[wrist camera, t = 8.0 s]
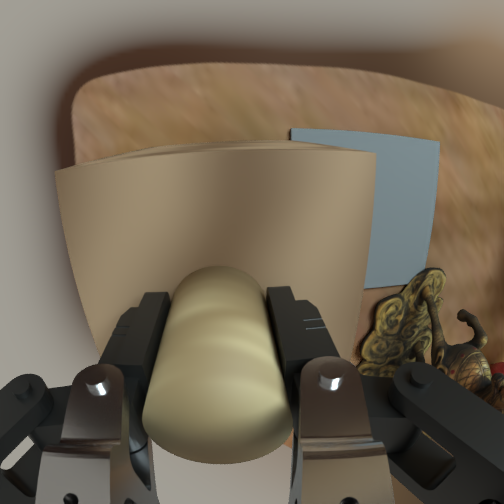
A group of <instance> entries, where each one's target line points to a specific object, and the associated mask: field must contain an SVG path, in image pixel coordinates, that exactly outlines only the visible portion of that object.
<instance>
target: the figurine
mask: <svg viewBox="0 0 504 504" xmlns="http://www.w3.org/2000/svg"><path fill="white" fill-rule="evenodd" d="M445 281H446V275H445V273H444V271H443V270H442V269H440V268H427V269H424V270H422V271H421V272H420V273H418V274H417V275H416V276H415V277H414V278H413V279H412V280H411V281H410V282H409V284H408V285H407V286H406V288H405V289H404V290H403V292H402V293H400V294H394V295H391V296H388V297H386V298H384V299H382V300H381V301H379V303H378V304H377V306H376V309H375V313H374V324H373V329H372V331H371V332H370V333H369V334H368V335H367V336H366V337H365V339H364V340H363V342H362V344H361V347H360V355H361V356H362V357H363V358H364V359H363V361H362V362H361V363H360V364H359V365H358V366H357V367H356V368H357V369H358V371H359V373H360V374H362V375H367V376H376V377H393V376H394V374H395V372H396V370H397V369H398V368H399V367H400V366H401V365H403V364H406V363H409V362H423V363H425V359H424V354H425V352H426V351H427V349H428V348H429V346H430V345H431V342H432V348H431V359H432V361H431V363H432V366H434V367H435V368H437V369H438V370H440V371H441V372H443V373H444V374H446V375H447V376H449V377H450V378H452V379H453V380H454V381H456V382H457V383H459V384H460V385H462V386H463V387H465V388H466V389H468V390H469V391H471V392H472V393H473V394H475V395H476V396H478V397H479V398H481V399H482V400H484V401H485V402H487V403H488V404H489V405H491V406H492V407H494V408H495V409H497V410H498V411H500V412H501V413H502V414H504V375H503V373H495V374H493V375H492V376H491V371H490V367H489V364H488V362H487V360H486V358H485V357H484V355H483V353H482V352H481V351H480V349H481V348H482V347H483V346H484V345H485V344H486V343H487V339H488V337H487V335H486V333H485V331H484V330H483V328H482V327H481V325H480V323H479V321H478V319H477V317H476V316H474V315H472V314H470V313H469V312H467V311H466V310H464V309H462V310H460V311H459V312H458V314H457V319H458V320H460V321H462V322H467V325H468V326H470V327H472V328H473V330H474V334H475V335H474V338H473V339H472V340H470V341H469V342H466V343H463V344H456V345H453V346H450V345H448V344H447V343H446V342H445V339H444V336H443V331H442V328H441V325H440V322H439V318H438V312H439V311H440V309H441V307H442V304H443V299H442V298H440V297H438V295H439V294H440V293H441V291H442V290H443V288H444V285H445ZM430 322H431V325H432V330H431V329H430V328H428V324H429V323H430ZM422 433H423V434H425V435H426V436H427V437H428V438H430V439H431V440H432V438H431V437H430V436H429V435H427V434H426V433H425V432H424V431H422Z"/></svg>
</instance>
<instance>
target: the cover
mask: <svg viewBox="0 0 504 504" xmlns="http://www.w3.org/2000/svg"><path fill="white" fill-rule="evenodd" d="M375 176H376V153H372V152H367V151H362V150H356V149H350V148H344V147H338V146H331V145H324V144H317V143H310V142H302V141H293V140H254V141H225V142H207V143H192V144H180V145H169V146H159V147H151V148H146V149H141V150H136V151H131V152H127V153H122V154H118V155H114V156H110V157H106V158H101V159H98V160H94V161H90V162H86V163H82V164H79V165H75V166H72V167H68V168H65V169H62V170H58V171H55V179H56V187H57V193H58V201H59V206H60V213H61V219H62V224H63V229H64V234H65V239H66V243H67V249H68V253H69V257H70V262H71V265H72V269H73V274H74V277H75V281H76V285H77V288H78V292H79V295H80V299H81V302H82V305H83V309H84V312H85V315H86V318H87V321H88V324H89V327H90V330H91V333H92V336H93V339H94V341H95V344H96V347H97V350H98V352H99V355H100V358H101V356H102V353H103V351H104V349H105V347H106V345H107V343H108V341H109V339H110V337H111V336H112V332H113V330H114V328H116V324H117V322H118V320H119V318H120V316H121V315H122V314H123V313H125V312H126V311H127V310H128V309H129V308H130V307H138V306H139V304H140V302H141V300H142V298H143V295H144V293H145V292H168V293H169V296H170V302H171V306H170V310H169V313H168V316H167V320H166V324H165V327H164V331H163V334H162V338H161V342H160V345H159V349H158V353H157V357H156V361H155V364H154V368H153V372H152V376H151V380H150V384H149V388H148V393H147V397H146V401H145V405H144V410H143V414H142V422H143V426H144V429H145V431H146V433H147V434H148V436H149V437H150V438H151V439H152V440H153V441H154V442H155V443H156V444H157V445H159V446H160V447H161V448H163V449H164V450H166V451H168V452H170V453H172V454H174V455H176V456H179V457H181V458H184V459H187V460H191V461H195V462H201V463H208V464H233V463H241V462H246V461H250V460H254V459H257V458H260V457H263V456H265V455H267V454H269V453H271V452H273V451H274V450H276V449H277V448H279V447H280V446H281V445H282V444H283V443H284V442H285V441H286V440H287V439H288V437H289V436H290V434H291V431H292V428H293V419H292V414H291V410H290V405H289V401H288V396H287V392H286V387H285V383H284V378H283V374H282V369H281V365H280V360H279V356H278V351H277V347H276V343H275V338H274V334H273V329H272V325H271V320H270V316H269V311H268V307H267V302H266V289H267V287H277V286H290V287H291V290H292V293H293V295H294V298H295V300H308V301H309V302H311V303H312V304H313V305H314V306H316V307H317V308H318V310H319V313H320V315H321V317H322V319H323V321H324V323H325V325H326V328H327V329H328V332H329V334H330V336H331V338H332V340H333V342H334V344H335V346H336V349H337V351H338V353H339V355H340V357H341V358H343V359H345V360H347V361H349V362H350V359H351V354H352V350H353V345H354V340H355V335H356V330H357V325H358V320H359V314H360V308H361V303H362V297H363V290H364V284H365V277H366V270H367V263H368V255H369V247H370V238H371V228H372V218H373V206H374V193H375Z"/></svg>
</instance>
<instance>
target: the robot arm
mask: <svg viewBox="0 0 504 504" xmlns="http://www.w3.org/2000/svg"><path fill="white" fill-rule="evenodd" d="M266 302H267V307H268V311H269V316H270V320H271V325H272V329H273V334H274V338H275V343H276V347H277V351H278V356H279V360H280V365H281V369H282V374H283V378H284V383H285V387H286V392H287V396H288V401H289V405H290V410H291V414H292V419H293V428H294V433H293V442H292V463H291V481H290V495H289V503H288V504H395V502H394V495H393V488H392V482H391V476H390V473H391V474H392V475H393V476H394V477H395V478H396V479H397V480H398V481H399V482H400V483H402V484H403V485H404V486H405V487H406V488H407V489H408V490H409V491H411V492H412V493H413V494H414V495H415V496H416V497H417V498H419V500H421V501H422V502H423V503H424V504H504V414H502V413H501V412H500V411H498V410H497V409H495V408H494V407H492V406H491V405H489V404H488V403H487V402H485V401H484V400H482V399H481V398H479V397H478V396H476V395H475V394H473V393H472V392H471V391H469V390H468V389H466V388H465V387H463V386H462V385H460V384H459V383H457V382H456V381H454V380H453V379H452V378H450V377H449V376H447V375H446V374H444V373H443V372H441V371H440V370H438V369H437V368H435V367H434V366H432V365H430V364H427V363H423V362H409V363H406V364H403V365H401V366H400V367H399V368H398V369H397V370H396V372H395V374H394V376H393V377H376V376H367V375H362V374H360V373H359V371H358V369H357V368H356V367H355V366H354V365H353V364H352V363H351V362H349V361H347V360H345V359H343V358H341V357H340V355H339V353H338V351H337V349H336V346H335V344H334V342H333V340H332V338H331V336H330V334H329V332H328V329H327V328H326V325H325V323H324V321H323V319H322V317H321V315H320V313H319V310H318V308H317V307H316V306H314V305H313V304H312V303H311V302H309V301H308V300H295V298H294V295H293V293H292V290H291V287H290V286H277V287H267V289H266ZM170 306H171V302H170V296H169V293H168V292H145V293H144V295H143V298H142V300H141V302H140V304H139V306H138V307H130V308H129V309H128V310H127V311H126V312H125V313H123V314H122V315H121V316H120V318H119V320H118V322H117V324H116V328H114V330H113V332H112V336H111V337H110V339H109V341H108V343H107V345H106V347H105V349H104V351H103V353H102V356H101V358H100V360H99V362H98V364H95V365H92V366H89V367H86V368H85V369H83V370H82V371H81V372H79V373H78V374H77V375H76V377H75V378H74V380H73V383H72V385H70V386H64V387H57V388H49V389H48V388H47V386H46V384H45V382H44V381H43V379H42V378H41V377H40V376H38V375H35V374H24V375H20V376H18V377H16V378H14V379H13V380H12V381H10V382H9V383H8V384H7V385H6V386H5V387H3V388H2V389H1V390H0V466H1V463H2V461H3V460H4V459H5V458H6V457H7V456H8V455H9V454H10V453H11V452H12V451H13V450H14V449H15V448H16V447H17V446H18V445H19V444H20V443H21V442H22V441H23V440H24V439H25V438H26V437H27V436H29V438H30V439H31V440H32V441H33V443H34V445H33V446H32V447H31V448H30V449H29V450H28V451H27V452H26V453H25V454H24V455H23V456H22V457H21V458H20V459H19V460H18V461H17V462H16V464H15V465H14V466H13V467H12V468H10V469H8V470H3V469H1V468H0V504H160V503H159V500H158V497H157V492H156V483H155V473H154V464H153V452H152V441H151V438H150V437H149V436H148V434H147V433H146V431H145V429H144V426H143V422H142V414H143V410H144V405H145V401H146V397H147V393H148V388H149V384H150V380H151V376H152V372H153V368H154V364H155V361H156V357H157V353H158V349H159V345H160V342H161V338H162V334H163V331H164V327H165V324H166V320H167V316H168V313H169V310H170ZM422 431H424V432H425V433H426V434H427V435H429V436H430V437H431V438H432V439H434V440H435V441H436V442H437V443H439V444H440V445H441V446H442V447H444V448H445V449H446V450H447V451H449V452H450V453H451V454H452V455H453V456H454V457H452V456H451V455H450V454H448V453H447V452H446V451H445V450H443V449H442V448H441V447H440V446H438V445H437V444H436V443H435V442H433V441H432V440H431V439H430V438H428V437H427V436H426V435H425V434H423V433H422Z"/></svg>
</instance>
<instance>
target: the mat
mask: <svg viewBox="0 0 504 504" xmlns="http://www.w3.org/2000/svg"><path fill="white" fill-rule="evenodd" d="M291 140H293V141H302V142H310V143H317V144H324V145H331V146H338V147H344V148H350V149H356V150H362V151H367V152H372V153H376V176H375V193H374V206H373V218H372V228H371V238H370V247H369V255H368V263H367V270H366V277H365V284H364V289H366V288H376V287H386V286H395V285H404V284H409V282H410V281H411V280H412V279H413V278H414V277H415V276H416V275H417V274H418V273H420V272H421V271H422V270H424V269H425V264H426V259H427V254H428V249H429V243H430V237H431V231H432V224H433V217H434V209H435V201H436V192H437V181H438V169H439V152H440V142H437V141H431V140H425V139H418V138H411V137H404V136H396V135H387V134H378V133H368V132H356V131H342V130H325V129H298V128H291Z"/></svg>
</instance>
